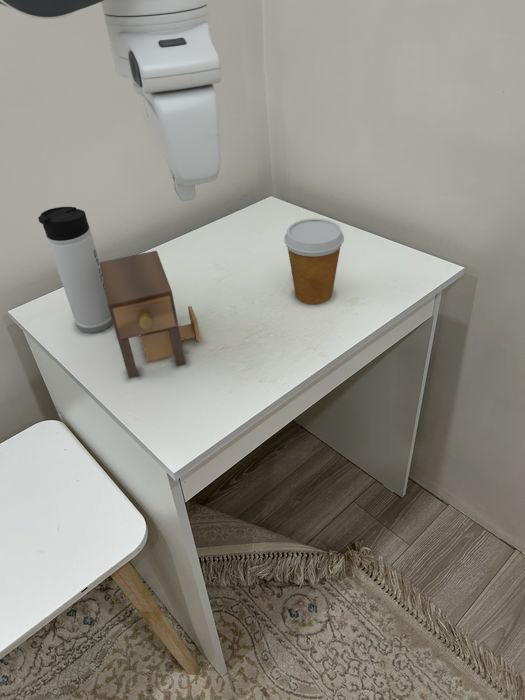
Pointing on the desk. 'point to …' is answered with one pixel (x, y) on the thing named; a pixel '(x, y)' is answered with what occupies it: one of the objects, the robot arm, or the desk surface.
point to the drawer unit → (140, 303)
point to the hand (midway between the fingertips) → (185, 195)
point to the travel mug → (78, 266)
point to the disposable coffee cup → (313, 258)
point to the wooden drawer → (168, 339)
